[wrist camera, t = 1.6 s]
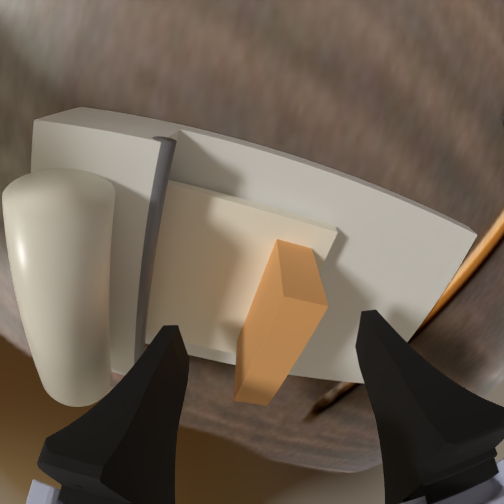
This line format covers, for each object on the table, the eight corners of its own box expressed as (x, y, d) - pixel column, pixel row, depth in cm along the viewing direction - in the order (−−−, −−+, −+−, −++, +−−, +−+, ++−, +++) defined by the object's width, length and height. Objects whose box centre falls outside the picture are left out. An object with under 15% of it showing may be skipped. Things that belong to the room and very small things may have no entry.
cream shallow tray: (334, 225, 13) (363, 286, 9) (272, 352, 17) (275, 417, 13) (61, 155, 11) (-1, 191, 8) (63, 297, 15) (29, 351, 11)
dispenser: (467, 226, 14) (547, 309, 8) (369, 373, 20) (393, 462, 14) (81, 106, 11) (-38, 147, 5) (75, 308, 17) (25, 399, 11)
